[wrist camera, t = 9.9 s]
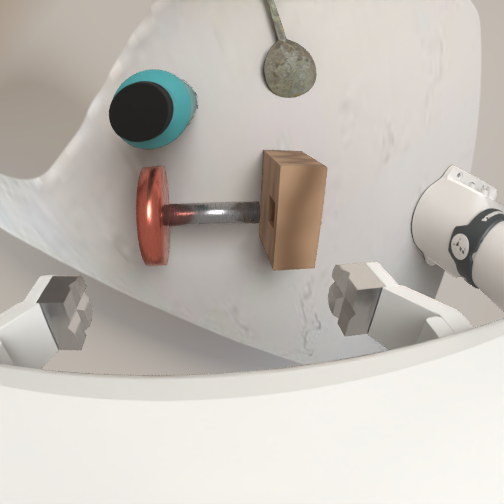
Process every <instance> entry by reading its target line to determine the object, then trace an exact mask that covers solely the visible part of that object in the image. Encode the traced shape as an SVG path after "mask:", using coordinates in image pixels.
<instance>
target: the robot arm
mask: <svg viewBox="0 0 504 504" xmlns="http://www.w3.org/2000/svg"><path fill="white" fill-rule="evenodd" d="M457 174H458V175H457ZM412 234H413V239H414V242H415V244H416V245H417V247H418V248H419V249H420V250H421V251H422V252H423V253H424V257H425V261H426V263H427V264H429V265H430V266H434V265H438V266H440V267H441V268H442V269H444V270H445V271H447V272H448V273H449V274H451V275H452V276H453V277H456V278H457V277H461V276H462V277H463V278H464V280H465V281H466V282H467V283H469V284H470V285H472V286H473V287H475V288H478V289H480V290H481V291H482V292H483V293H485V294H486V295H487V296H488V297H489V298H490V299H491V300H492V301H493V302H494V303H495V304H496V305H497V306H498V307H499V308H500V309H501V310H502V311H503V312H504V205H503V204H502V203H500V202H498V201H497V191H496V189H495V188H494V187H493V186H491V185H490V184H488V183H486V182H484V181H483V180H481V179H479V178H477V177H475V176H473V175H472V174H470V173H468V172H466V171H464V170H462V169H460V168H458V167H456V166H454V165H452V166H450V167H449V168H448V169H447V171H446V172H445V173H444V175H443V176H442V178H440V179H439V180H438V181H436V182H435V183H433V184H432V185H431V186H430V187H429V188H428V189H427V190H426V191H425V193H424V194H423V195H422V197H421V198H420V200H419V202H418V204H417V207H416V209H415V212H414V216H413V221H412ZM332 278H333V279H334V281H335V282H334V283H333V284H332V286H331V287H330V288H329V294H328V301H329V307H330V310H331V312H332V314H333V315H334V316H336V317H338V318H339V320H338V325H339V327H340V328H341V330H342V332H343V334H344V336H352V335H360V334H368V335H369V336H370V337H372V338H373V339H375V340H376V341H377V342H379V343H380V344H382V345H383V346H384V347H386V348H387V349H388V350H387V351H382V352H378V353H373V354H368V355H362V356H357V357H351V358H346V359H340V360H334V361H328V362H321V363H314V364H307V365H300V366H292V367H284V368H275V369H266V370H256V371H245V372H231V373H216V374H194V375H110V374H90V373H76V372H63V371H53V370H43V369H41V368H42V367H43V366H44V365H45V364H46V363H47V362H48V361H49V360H50V359H51V358H52V357H53V356H54V355H55V354H56V353H57V352H58V351H59V349H60V350H82V347H83V344H84V341H85V338H86V334H85V331H84V330H86V329H87V328H88V327H89V326H90V324H91V321H92V306H91V302H90V299H89V297H88V296H86V295H85V293H84V291H85V289H86V284H85V281H84V278H83V277H82V276H81V275H44V276H41V277H40V278H39V279H38V281H37V282H36V283H35V285H34V287H33V288H32V289H31V291H30V292H29V294H28V295H27V297H26V298H25V300H24V301H23V303H18V304H16V305H15V306H13V307H11V308H10V309H8V310H7V311H5V312H3V313H2V314H0V504H504V318H503V319H500V320H497V321H494V322H491V323H488V324H485V325H482V326H479V327H475V328H474V327H473V326H472V325H471V324H470V323H469V322H468V320H467V319H466V318H465V317H464V316H463V315H462V314H461V313H460V312H459V311H458V310H456V309H454V308H452V307H450V306H447V305H445V304H443V303H441V302H439V301H437V300H434V299H432V298H430V297H428V296H426V295H423V294H421V293H419V292H417V291H414V290H412V289H410V288H408V287H405V286H403V285H402V286H399V285H398V284H397V283H396V282H395V280H394V279H393V278H392V277H391V276H390V275H389V274H388V273H387V272H386V271H385V270H384V268H383V267H382V266H381V265H380V264H379V263H378V262H375V261H374V262H364V263H353V264H342V265H335V267H334V269H333V273H332Z"/></svg>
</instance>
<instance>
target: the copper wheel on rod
mask: <svg viewBox="0 0 504 504" xmlns="http://www.w3.org/2000/svg"><path fill="white" fill-rule="evenodd" d="M136 216H137V231H138V240H139V246H140V251H141V255H142V258H143V261H144V263H145V264H146V265H147V266H161V265H167V262H168V257H169V244H170V226H181V225H207V224H237V223H259V221H260V205H259V202H217V203H188V204H169V195H168V184H167V176H166V171H165V168H164V166H151V167H144V168H143V169H142V170H141V173H140V177H139V181H138V189H137V204H136Z"/></svg>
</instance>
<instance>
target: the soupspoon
mask: <svg viewBox="0 0 504 504" xmlns="http://www.w3.org/2000/svg"><path fill="white" fill-rule="evenodd" d="M267 3H268V6H269V9H270V12H271V15H272V19H273V23H274V26H275V30H276V34H277V37H278V41H277V42H276V43H275V44H274V45H273V46H272V47H271V49H270V50H269V52H268V55H267V57H266V60H265V65H264V74H265V77H266V81H267V84H268V87H269V88H270V90H271V91H272V92H274V93H275V94H276V95H278V96H280V97H286V98H291V97H297V96H300V95H302V94H304V93H306V92H307V91H309V90H310V89H311V88H312V87H313V85H314V83H315V80H316V67H315V63H314V61H313V59H312V57H311V55H310V54H309V53H308V52H307V51H306V50H305V49H304V48H303V47H302V46H300V45H299V44H297V43H295V42H293V41H290V40H287V39H286V37H285V33H284V30H283V26H282V24H281V21H280V18H279V14H278V12H277V9H276V6H275V3H274V1H273V0H267Z"/></svg>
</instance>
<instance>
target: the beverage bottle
mask: <svg viewBox="0 0 504 504" xmlns="http://www.w3.org/2000/svg"><path fill="white" fill-rule="evenodd" d="M189 85H190V84H189ZM189 85H187V84H186V83H185V82H183V81H182V80H180V79H179V78H178V77H176V76H175V75H173V74H171V73H169V72H166V71H163V70H145V71H142V72H139V73H136V74H134V75H132V76H131V77H129V78H128V79H127V80H125V81H124V82H123V83H122V84H121V86H120V87H119V88H118V90H117V91H116V93H115V95H114V98H113V100H112V102H111V105H110V109H109V119H110V123H111V126H112V128H113V130H114V131H115V132H116V133H117V134H118V135H119V136H120V137H121V138H122V139H123V140H124V141H125V142H127V143H128V144H130V145H132V146H134V147H137V148H142V149H154V148H159V147H162V146H165V145H167V144H169V143H171V142H172V141H174V140H175V139H176V138H177V137H179V136H180V134H181V133H182V132H183V131H184V129H185V128H186V126H187V124H188V123H189V121H190V120H191V119H192V117H193V115H194V113H195V111H196V106H197V108H198V105H197V103H198V101H197V100H196V96H197V94H196V93H194V91H193V90H192V88H193V87H190V86H189ZM193 118H194V117H193ZM189 124H190V123H189ZM189 124H188V125H189Z"/></svg>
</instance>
